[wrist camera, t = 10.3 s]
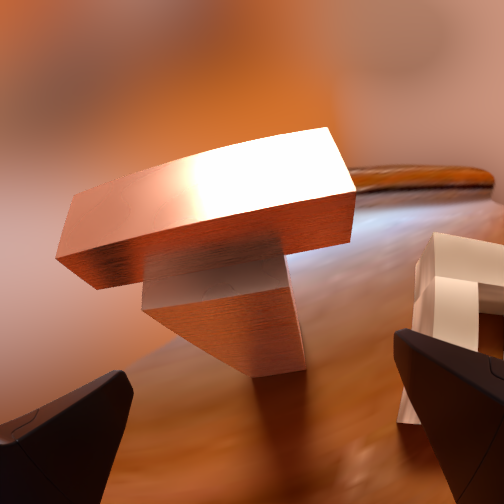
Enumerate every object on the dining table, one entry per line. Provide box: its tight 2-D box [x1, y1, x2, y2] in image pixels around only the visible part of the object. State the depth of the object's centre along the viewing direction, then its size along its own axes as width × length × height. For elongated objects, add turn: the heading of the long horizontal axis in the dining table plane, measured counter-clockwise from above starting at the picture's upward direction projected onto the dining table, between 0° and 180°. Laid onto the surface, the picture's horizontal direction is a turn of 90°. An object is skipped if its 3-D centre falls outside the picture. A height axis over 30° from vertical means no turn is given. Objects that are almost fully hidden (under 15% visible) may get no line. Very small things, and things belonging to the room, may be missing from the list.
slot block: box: [397, 232, 504, 424], centre depth 12 cm, size 10×10×4 cm
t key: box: [55, 127, 356, 378], centre depth 11 cm, size 6×3×14 cm, turn 96°
